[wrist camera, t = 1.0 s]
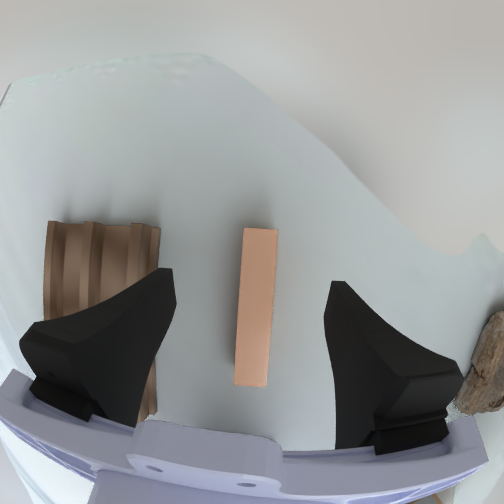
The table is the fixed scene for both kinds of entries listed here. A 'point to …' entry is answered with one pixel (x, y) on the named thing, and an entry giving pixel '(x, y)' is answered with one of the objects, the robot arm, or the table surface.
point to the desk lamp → (437, 497)
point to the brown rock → (485, 371)
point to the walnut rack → (98, 272)
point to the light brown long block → (255, 306)
